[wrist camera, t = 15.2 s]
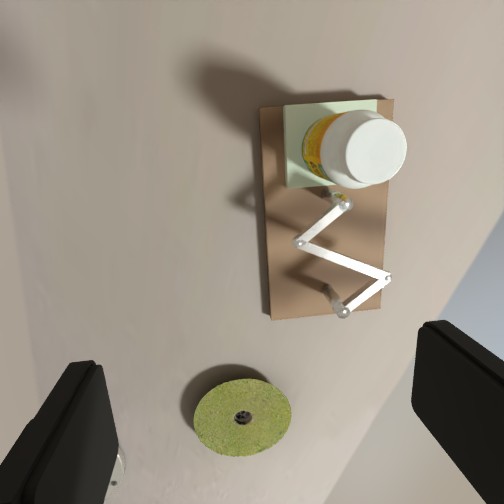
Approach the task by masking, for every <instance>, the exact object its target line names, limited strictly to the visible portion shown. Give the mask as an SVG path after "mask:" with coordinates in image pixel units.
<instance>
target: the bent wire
mask: <svg viewBox="0 0 504 504" xmlns="http://www.w3.org/2000/svg"><path fill="white" fill-rule="evenodd" d="M321 196H322V198H323V199H324V200H325V201H327V202H329V203H330V204H332V206H331V207H330V208H328V209H327V210H326V211H325V212H324V213H323V214H321V215H320V216H319V217H318V218H317V219H315V220H314V221H313V222H312V223H311V224H309V225H308V226H307V227H306V228H305V229H303V230H302V231H301V232H300V233H299V234H297V235H296V236H295V237H294V238H293V239H292V245H293V246H294V247H295V248H298V249H301V250H304V251H306V252H309V253H311V254H314V255H317V256H319V257H322V258H325V259H327V260H330V261H332V262H335V263H338V264H340V265H343V266H346V267H348V268H351V269H353V270H356V271H359V272H361V273H364V274H366V275H369V276H372V277H374V278H373V279H371V280H370V281H369V282H368V283H366V284H365V285H364V286H362V287H361V288H360V289H359V290H357V291H356V292H355V293H353V294H352V295H351V296H350V297H348V298H347V299H346V300H345V301H343V300H342V299H341V298H340V296H339V295H338V294H337V293H336V291H335V290H334V289H333V287H332V286H331V285H330V284H325V285H323V286H322V288H321V292H322V293H323V295H324V296H325V298H326V299H327V301H328V302H329V304H330V305H331V307H332V308H333V310H334V311H335V313H336V314H337V316H338V317H339V318H346V317H348V315H349V314H350V312H351V311H352V310H354V309H355V308H356V307H357V306H359V305H360V304H361V303H363V302H364V301H365V300H366V299H368V298H369V297H370V296H372V295H373V294H374V293H375V292H377V291H378V290H379V289H381V288H382V287H383V286H384V285H386V284H387V283H388V282H390V280H391V278H392V275H391V273H390V272H389V271H385V270H383V269H380V268H378V267H375V266H372V265H370V264H367V263H365V262H362V261H360V260H357V259H355V258H352V257H349V256H347V255H344V254H342V253H339V252H337V251H334V250H331V249H329V248H326V247H324V246H321V245H319V244H316V243H314V242H311V241H309V240H311V239H312V238H313V237H314V236H316V235H317V234H318V233H319V232H320V231H322V230H323V229H324V228H325V227H326V226H328V225H329V224H330V223H331V222H332V221H334V220H335V219H336V218H337V217H338V216H340V215H341V214H342V213H343V212H344V211H349V210H350V209H351V208H352V207H353V200H352V199H351V198H350V197H348V196H346V195H343V194H341V193H339V192H337V191H335V190H333V189H330V188H325V189H324V190H323V191H322V193H321Z"/></svg>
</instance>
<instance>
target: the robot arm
mask: <svg viewBox="0 0 504 504" xmlns="http://www.w3.org/2000/svg"><path fill="white" fill-rule="evenodd" d="M411 403H412V407H413V410H414V412H415V413H416V414H417V416H418V417H419V418H420V420H421V421H422V422H423V424H424V425H425V426H426V427H427V429H428V430H429V431H430V432H431V434H432V435H433V436H434V437H435V439H436V440H437V441H438V443H439V444H440V445H441V446H442V448H443V449H444V450H445V451H446V453H447V454H448V455H449V456H450V458H451V459H452V460H453V462H454V463H455V464H456V466H457V467H458V468H459V469H460V471H461V472H462V473H463V474H464V475H465V477H466V478H467V480H468V481H469V482H470V483H471V485H472V486H473V487H474V488H475V490H476V491H477V492H478V493H479V495H480V496H481V497H482V499H483V500H484V501H485V502H486V504H504V361H503V360H501V359H500V358H499V357H497V356H496V355H494V354H493V353H492V352H490V351H489V350H487V349H486V348H485V347H483V346H482V345H480V344H479V343H478V342H476V341H475V340H473V339H472V338H471V337H469V336H468V335H466V334H465V333H464V332H462V331H461V330H459V329H458V328H457V327H455V326H454V325H453V324H451V323H450V322H448V321H446V320H438V321H429V322H425V323H424V324H423V327H421V328H420V329H419V330H418V338H417V348H416V358H415V367H414V377H413V387H412V398H411ZM124 470H125V460H124V456H123V453H122V451H121V449H120V447H119V444H118V437H117V433H116V428H115V423H114V418H113V414H112V409H111V404H110V400H109V395H108V390H107V386H106V381H105V376H104V372H103V368H102V366H101V365H96V363H95V362H94V361H93V360H89V361H80V362H72V363H70V364H69V365H68V366H67V368H66V369H65V371H64V373H63V374H62V376H61V377H60V379H59V380H58V382H57V383H56V385H55V386H54V388H53V390H52V391H51V393H50V394H49V396H48V397H47V399H46V400H45V402H44V403H43V405H42V407H41V408H40V410H39V411H38V413H37V415H36V416H35V417H34V419H32V420H31V421H30V422H29V423H28V424H27V425H26V427H25V428H24V430H23V431H22V433H21V435H20V436H19V438H18V439H17V441H16V442H15V444H14V445H13V447H12V448H11V450H10V451H9V453H8V454H7V456H6V457H5V459H4V460H3V462H2V463H1V465H0V504H103V503H104V500H105V499H107V498H109V497H110V496H111V495H112V494H113V493H114V492H115V491H116V490H117V488H118V487H119V485H120V483H121V481H122V478H123V474H124Z"/></svg>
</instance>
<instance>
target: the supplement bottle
mask: <svg viewBox="0 0 504 504" xmlns="http://www.w3.org/2000/svg"><path fill="white" fill-rule="evenodd" d="M406 147H407V145H406V139H405V136H404V133H403V132H402V130H401V129H400V127H399V126H398V125H397V124H395V123H394V122H392V121H390V120H388V119H386V118H384V117H383V116H382V115H380V114H378V113H376V112H374V111H370V110H353V111H348V112H343V113H338V114H333V115H328V116H325V117H322V118H320V119H318V120H316V121H315V122H313V123H312V124H311V125H310V126H309V127H308V129H307V130H306V132H305V134H304V136H303V138H302V142H301V155H302V159H303V162H304V164H305V166H306V168H307V169H308V170H309V171H310V172H311V173H313V174H314V175H316V176H318V177H320V178H323V179H325V180H327V181H330V182H332V183H335V184H337V185H339V186H342V187H345V188H351V189H358V188H364V187H367V186H370V185H373V184H379V183H382V182H385V181H387V180H389V179H390V178H392V177H393V176H394V175H395V174H396V173H397V172H398V170H399V169H400V168H401V166H402V164H403V162H404V159H405V156H406Z"/></svg>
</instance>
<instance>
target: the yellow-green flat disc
mask: <svg viewBox="0 0 504 504" xmlns="http://www.w3.org/2000/svg"><path fill="white" fill-rule="evenodd" d="M193 421H194V427H195V431H196V434H197V435H198V438H199V439H200V441H201V442H203V444H205V446H206V447H208V448H209V449H211V450H213V451H215V452H217V453H220V454H222V455H223V454H224V455H227V456H234V457H235V456H247V455H253V454H257V453H259V452H262V451H264V450H266V449H268V448H270V447H272V446H273V445H274V444H276V443H277V442H278V441H279V440H280V439H281V438H282V437H283V436H284V434H285V433H286V431H287V429H288V427H289V424H290V421H291V408H290V405H289V401H288V400H287V398H286V397H285V396H284V394H283V393H282V392H281V391H280V390H279V389H277V388H276V387H275V386H273V385H272V384H269V383H266V382H264V381H261V380H257V379H239V380H233V381H229V382H225V383H223V384H220V385H218V386H216V387H215V388H213V389H212V390H211V391H209V392H208V393H207V394H206V395H204V397H203V398H202V399H201V401H200V402H199V404H198V406H197V408H196V410H195V414H194V420H193Z"/></svg>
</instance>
